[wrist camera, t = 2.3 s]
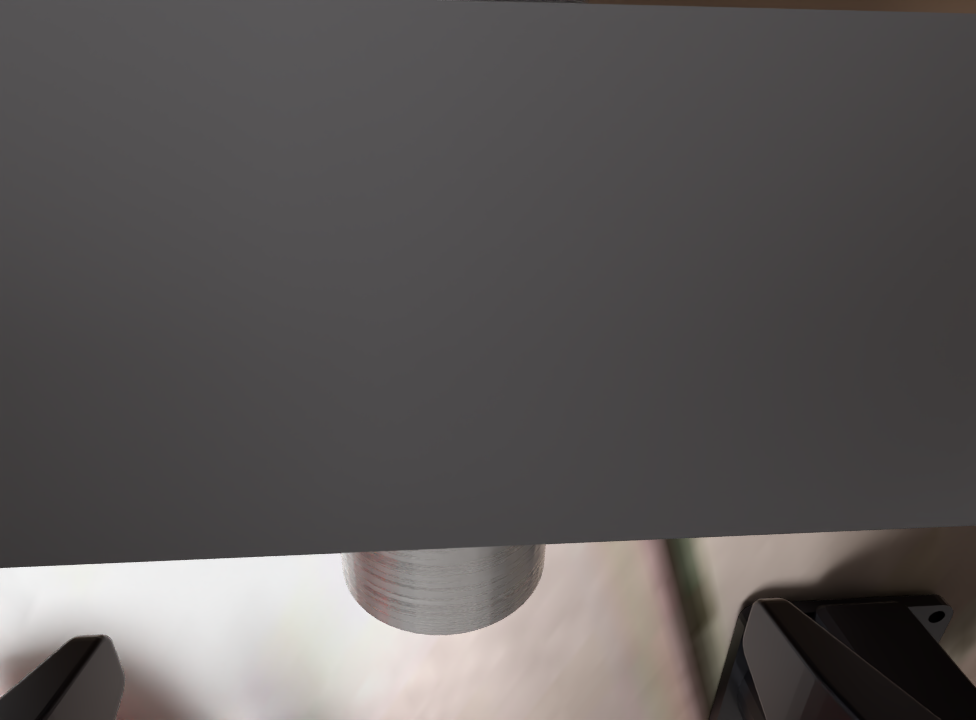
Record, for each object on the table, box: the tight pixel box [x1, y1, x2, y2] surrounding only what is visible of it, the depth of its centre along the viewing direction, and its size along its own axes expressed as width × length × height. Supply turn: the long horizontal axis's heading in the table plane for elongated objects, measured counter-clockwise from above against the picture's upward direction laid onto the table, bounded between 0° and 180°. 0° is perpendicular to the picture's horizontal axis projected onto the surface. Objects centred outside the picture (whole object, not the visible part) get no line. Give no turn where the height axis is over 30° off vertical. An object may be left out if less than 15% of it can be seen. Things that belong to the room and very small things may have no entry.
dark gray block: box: [0, 0, 976, 568], centre depth 6 cm, size 3×12×7 cm, turn 89°
